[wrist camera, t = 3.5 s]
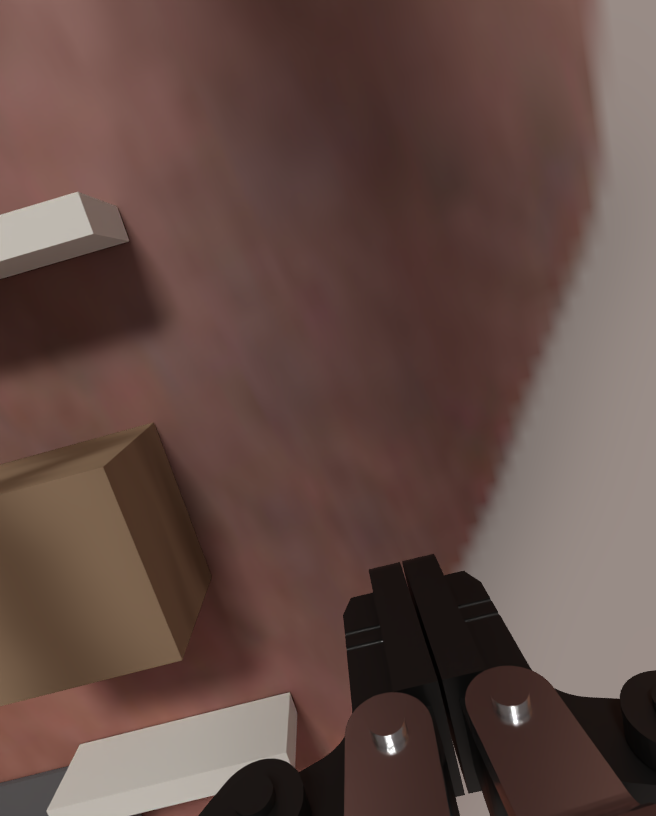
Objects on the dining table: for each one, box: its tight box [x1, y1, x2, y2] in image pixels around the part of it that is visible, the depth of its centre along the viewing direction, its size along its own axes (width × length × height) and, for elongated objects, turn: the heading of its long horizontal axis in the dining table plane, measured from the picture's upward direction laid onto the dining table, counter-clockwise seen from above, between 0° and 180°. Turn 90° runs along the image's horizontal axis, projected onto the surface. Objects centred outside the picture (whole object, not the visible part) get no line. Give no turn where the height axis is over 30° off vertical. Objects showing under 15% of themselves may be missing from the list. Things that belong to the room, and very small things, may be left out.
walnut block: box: [0, 422, 212, 706], centre depth 18 cm, size 7×7×5 cm
